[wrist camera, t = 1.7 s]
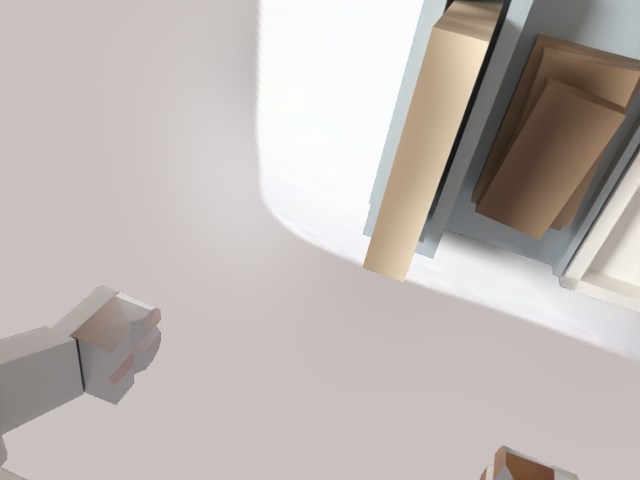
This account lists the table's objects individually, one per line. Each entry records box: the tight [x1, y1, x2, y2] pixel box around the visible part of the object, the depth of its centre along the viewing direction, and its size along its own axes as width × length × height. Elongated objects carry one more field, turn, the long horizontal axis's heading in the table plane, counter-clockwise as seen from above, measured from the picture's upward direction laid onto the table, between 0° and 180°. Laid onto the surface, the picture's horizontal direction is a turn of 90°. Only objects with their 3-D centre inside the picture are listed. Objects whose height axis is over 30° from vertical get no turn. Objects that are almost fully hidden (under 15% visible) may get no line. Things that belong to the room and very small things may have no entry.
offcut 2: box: [475, 76, 626, 240], centre depth 25 cm, size 4×7×1 cm, turn 163°
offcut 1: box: [471, 34, 640, 231], centre depth 27 cm, size 5×9×1 cm, turn 169°
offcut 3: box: [515, 47, 640, 227], centre depth 25 cm, size 4×8×1 cm, turn 173°
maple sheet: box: [363, 0, 504, 282], centre depth 25 cm, size 2×11×9 cm, turn 169°
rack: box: [363, 0, 640, 277], centre depth 27 cm, size 12×15×4 cm
